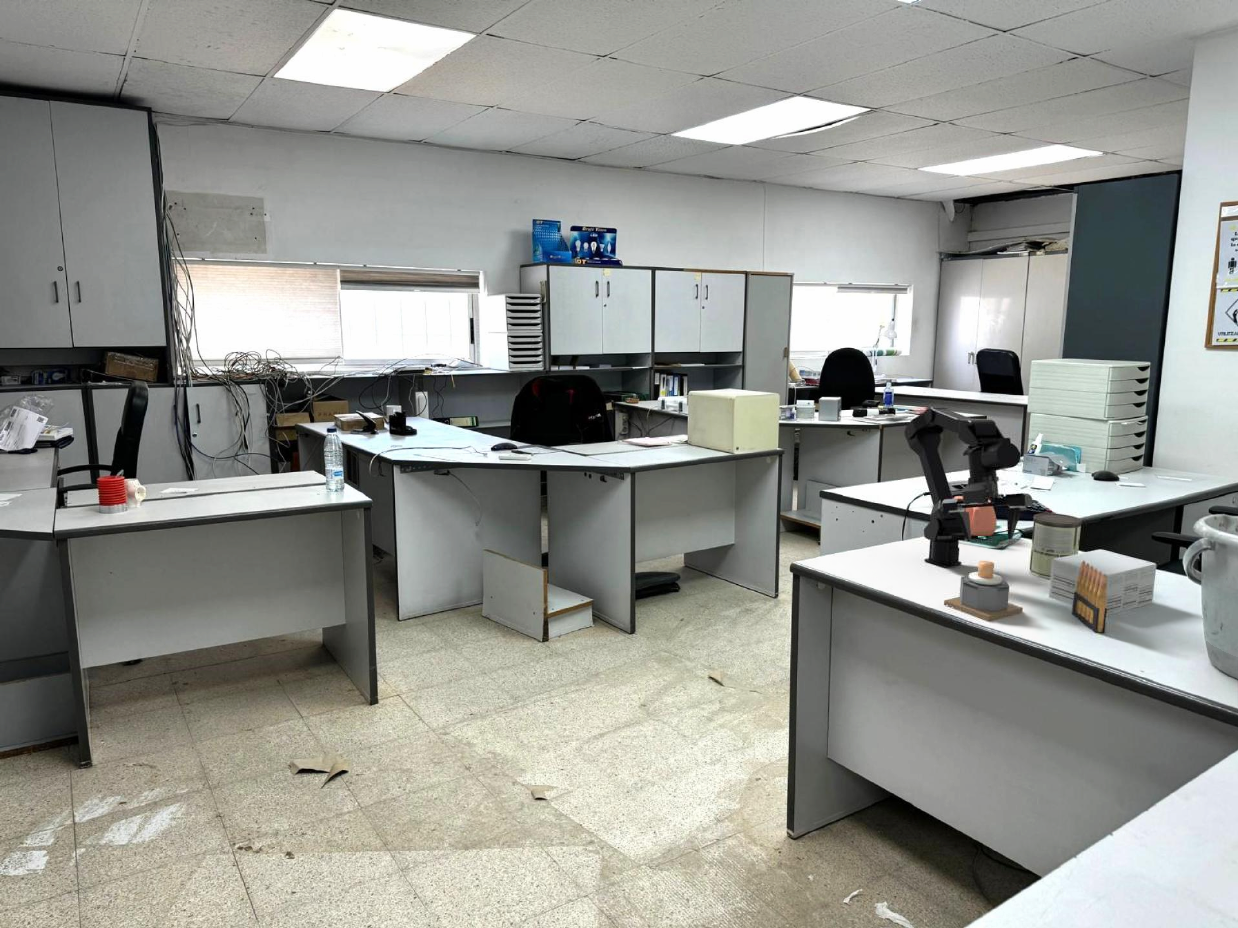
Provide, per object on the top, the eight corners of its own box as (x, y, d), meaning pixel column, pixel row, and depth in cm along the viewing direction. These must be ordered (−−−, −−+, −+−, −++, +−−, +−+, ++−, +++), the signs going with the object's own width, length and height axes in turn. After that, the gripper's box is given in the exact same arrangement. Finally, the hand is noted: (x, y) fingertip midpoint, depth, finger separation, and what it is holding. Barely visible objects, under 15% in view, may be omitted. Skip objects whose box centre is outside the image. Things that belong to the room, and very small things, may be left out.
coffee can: (1021, 567, 205) (1026, 512, 202) (1065, 568, 204) (1070, 513, 201) (1038, 580, 195) (1044, 522, 192) (1084, 581, 194) (1090, 523, 191)
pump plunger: (960, 599, 177) (963, 561, 175) (980, 595, 180) (983, 557, 178) (986, 609, 171) (989, 569, 170) (1006, 604, 174) (1009, 564, 173)
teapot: (988, 527, 244) (992, 487, 242) (1000, 544, 225) (1004, 501, 223) (940, 524, 247) (943, 484, 245) (948, 541, 228) (951, 498, 226)
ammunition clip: (1105, 633, 162) (1111, 575, 160) (1095, 633, 162) (1101, 574, 160) (1080, 614, 172) (1086, 559, 170) (1071, 613, 173) (1077, 559, 170)
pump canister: (943, 604, 178) (945, 578, 177) (977, 596, 183) (980, 570, 182) (987, 620, 168) (990, 593, 167) (1022, 612, 174) (1024, 584, 172)
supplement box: (1095, 587, 190) (1099, 548, 189) (1152, 604, 179) (1158, 563, 177) (1046, 597, 183) (1050, 557, 181) (1103, 616, 171) (1108, 573, 170)
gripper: (929, 475, 191) (934, 542, 189) (1013, 466, 178) (1020, 538, 176) (948, 477, 199) (954, 542, 197) (1030, 469, 186) (1037, 538, 184)
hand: (989, 540), depth 188 cm, fingers open, 9 cm apart
